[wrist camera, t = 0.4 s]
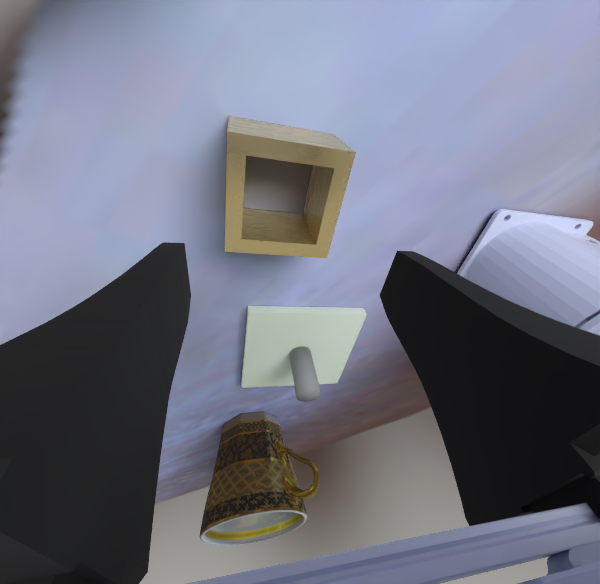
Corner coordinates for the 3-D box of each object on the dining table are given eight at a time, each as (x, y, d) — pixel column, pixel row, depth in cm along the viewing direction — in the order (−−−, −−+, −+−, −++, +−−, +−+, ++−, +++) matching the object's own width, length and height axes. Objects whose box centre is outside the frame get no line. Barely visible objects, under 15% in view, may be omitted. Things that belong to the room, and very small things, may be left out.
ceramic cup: (249, 451, 39) (253, 547, 31) (189, 432, 33) (175, 543, 26) (327, 409, 35) (352, 506, 28) (274, 379, 30) (287, 491, 22)
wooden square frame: (332, 134, 16) (355, 152, 13) (312, 226, 19) (326, 258, 16) (229, 115, 15) (227, 131, 12) (226, 218, 18) (224, 251, 15)
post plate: (363, 308, 25) (386, 352, 21) (335, 376, 31) (349, 421, 27) (247, 305, 23) (250, 355, 19) (241, 381, 29) (242, 430, 25)
